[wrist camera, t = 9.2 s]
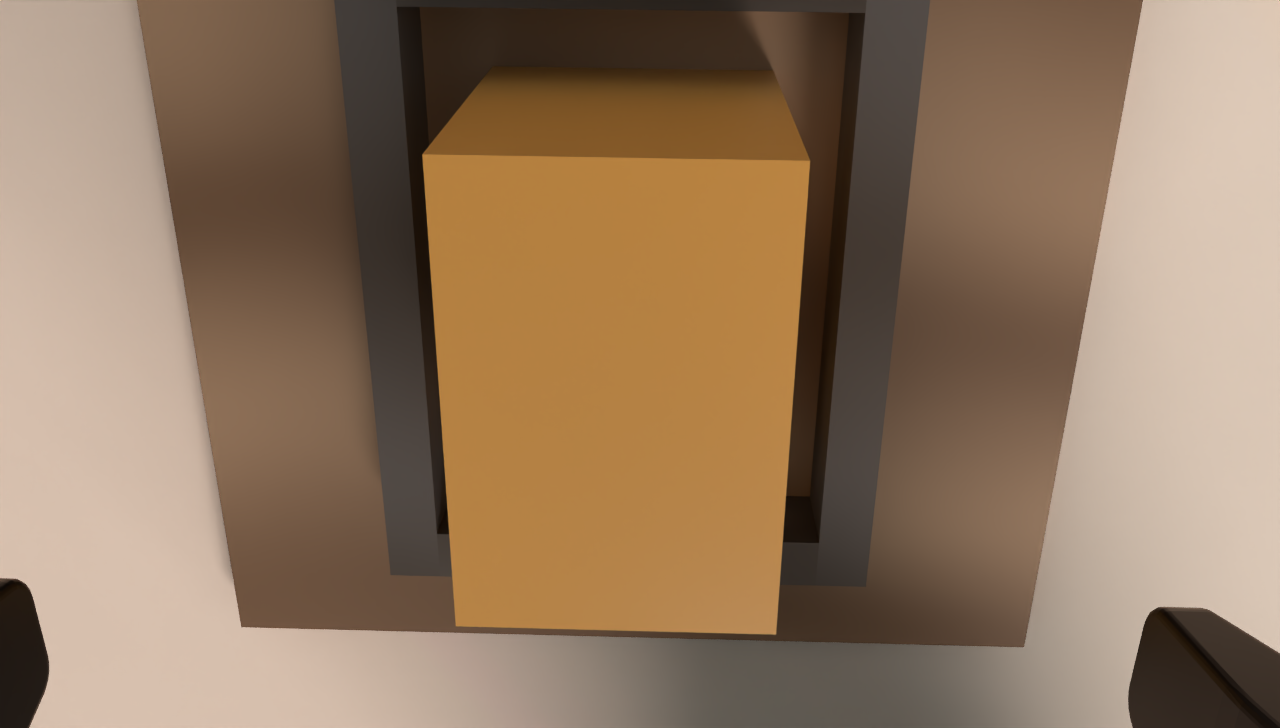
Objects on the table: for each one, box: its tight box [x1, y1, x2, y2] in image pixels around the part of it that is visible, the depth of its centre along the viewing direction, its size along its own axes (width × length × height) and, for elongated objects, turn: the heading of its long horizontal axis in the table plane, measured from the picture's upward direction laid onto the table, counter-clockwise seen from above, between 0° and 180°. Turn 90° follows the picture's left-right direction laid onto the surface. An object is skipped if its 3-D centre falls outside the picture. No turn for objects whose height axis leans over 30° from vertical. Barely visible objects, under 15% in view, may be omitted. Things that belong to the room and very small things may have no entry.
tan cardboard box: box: [422, 66, 810, 635], centre depth 15 cm, size 6×4×5 cm, turn 179°
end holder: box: [137, 0, 1143, 647], centre depth 17 cm, size 14×14×2 cm
